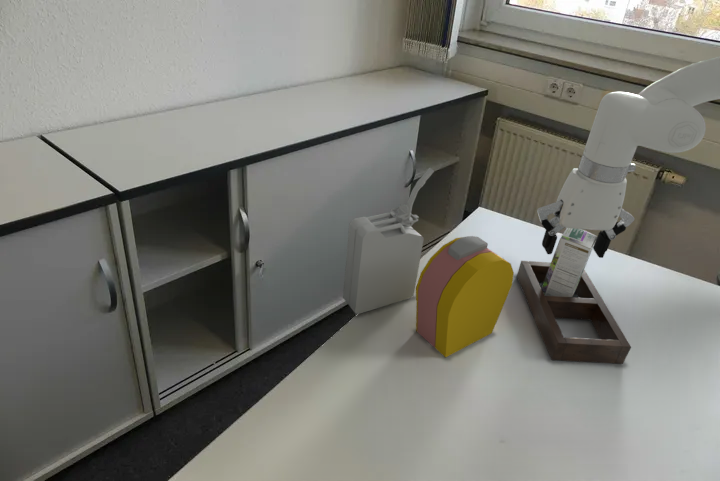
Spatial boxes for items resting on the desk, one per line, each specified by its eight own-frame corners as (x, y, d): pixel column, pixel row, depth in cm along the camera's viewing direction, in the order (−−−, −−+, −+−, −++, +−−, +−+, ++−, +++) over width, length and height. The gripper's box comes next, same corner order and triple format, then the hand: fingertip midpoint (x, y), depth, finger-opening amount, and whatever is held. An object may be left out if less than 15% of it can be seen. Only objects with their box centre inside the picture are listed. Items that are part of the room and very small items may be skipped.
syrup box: (545, 284, 109) (566, 223, 101) (574, 295, 107) (598, 234, 99) (537, 299, 105) (558, 236, 97) (567, 311, 103) (592, 248, 95)
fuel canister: (410, 279, 107) (429, 164, 93) (424, 293, 103) (447, 176, 90) (341, 298, 100) (352, 177, 87) (354, 315, 97) (367, 191, 83)
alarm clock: (465, 304, 102) (486, 220, 92) (498, 329, 97) (524, 244, 87) (405, 331, 94) (421, 244, 84) (437, 361, 89) (458, 271, 79)
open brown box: (575, 280, 112) (581, 264, 110) (622, 364, 92) (631, 347, 90) (516, 276, 111) (521, 260, 109) (551, 360, 91) (558, 342, 89)
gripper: (642, 162, 94) (609, 243, 104) (545, 155, 93) (521, 237, 103) (663, 182, 88) (626, 266, 98) (559, 174, 87) (532, 260, 97)
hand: (572, 251), depth 100 cm, fingers open, 9 cm apart
